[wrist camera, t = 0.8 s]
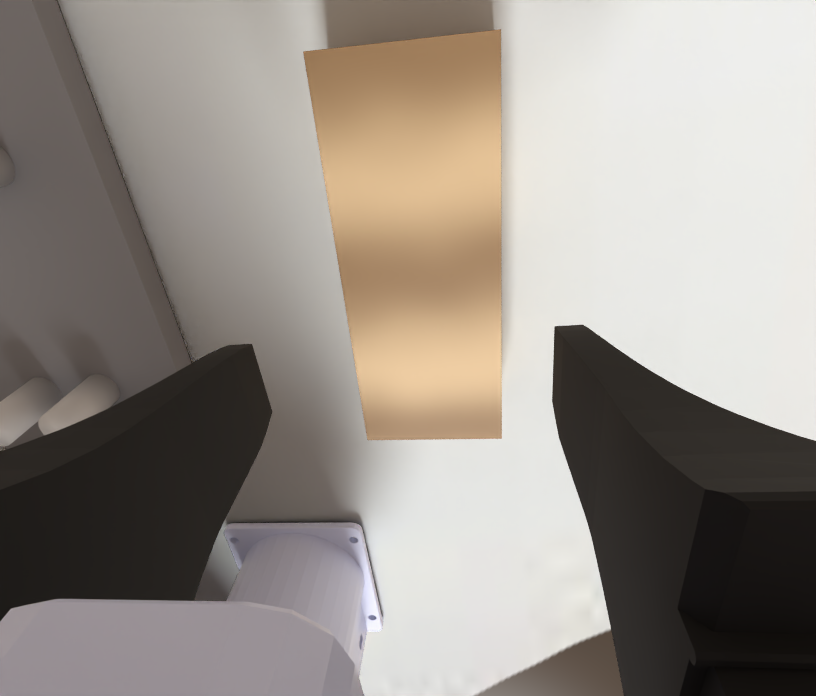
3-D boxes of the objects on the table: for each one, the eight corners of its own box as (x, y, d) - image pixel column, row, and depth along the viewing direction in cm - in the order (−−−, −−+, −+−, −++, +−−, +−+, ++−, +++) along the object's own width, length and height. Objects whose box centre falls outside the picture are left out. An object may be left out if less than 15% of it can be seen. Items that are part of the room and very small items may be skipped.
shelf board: (496, 389, 23) (501, 438, 20) (379, 392, 24) (367, 440, 21) (493, 36, 17) (500, 29, 13) (331, 54, 17) (303, 51, 14)
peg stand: (224, 452, 26) (187, 514, 23) (37, 457, 28) (-27, 516, 24) (51, -13, 17) (-63, -35, 13) (-221, 33, 18) (-392, 25, 14)
